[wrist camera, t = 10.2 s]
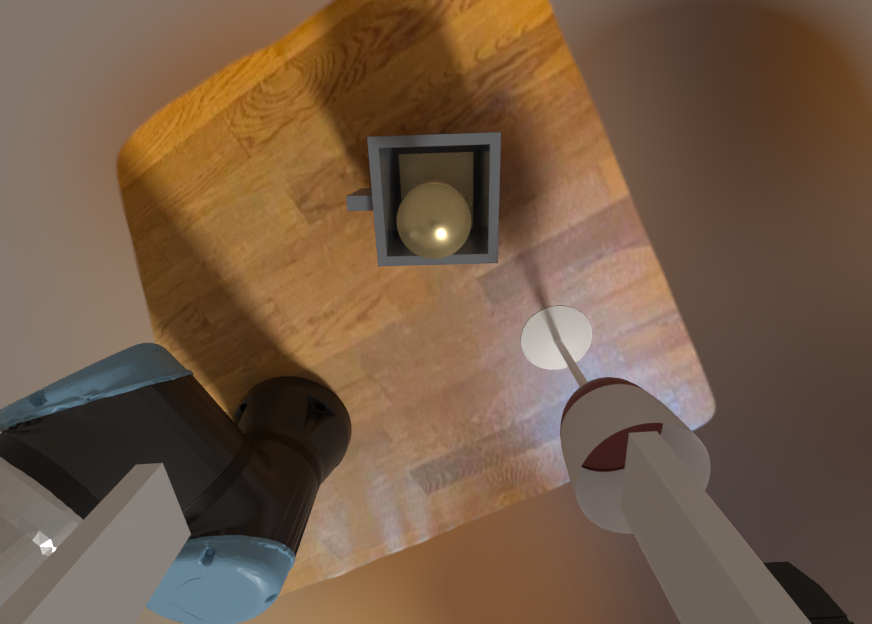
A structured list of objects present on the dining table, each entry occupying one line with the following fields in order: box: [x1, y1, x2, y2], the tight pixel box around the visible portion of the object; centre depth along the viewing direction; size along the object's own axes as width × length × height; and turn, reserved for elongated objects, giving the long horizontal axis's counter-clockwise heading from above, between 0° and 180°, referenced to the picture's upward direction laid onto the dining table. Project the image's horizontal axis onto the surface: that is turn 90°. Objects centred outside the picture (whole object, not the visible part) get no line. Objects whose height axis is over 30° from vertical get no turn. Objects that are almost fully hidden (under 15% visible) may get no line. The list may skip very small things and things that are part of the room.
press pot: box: [346, 132, 501, 266], centre depth 38 cm, size 12×10×12 cm
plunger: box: [397, 152, 473, 259], centre depth 33 cm, size 7×7×19 cm
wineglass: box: [521, 306, 711, 534], centre depth 39 cm, size 9×10×23 cm
